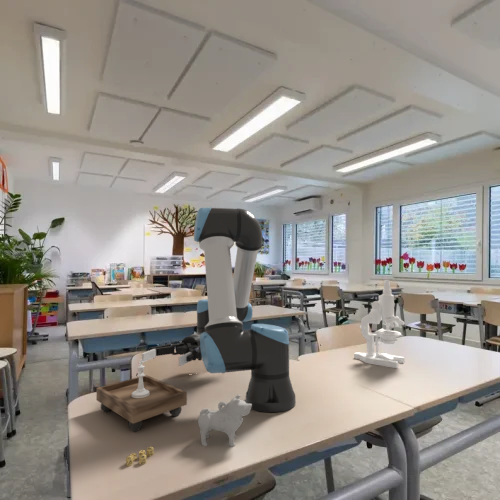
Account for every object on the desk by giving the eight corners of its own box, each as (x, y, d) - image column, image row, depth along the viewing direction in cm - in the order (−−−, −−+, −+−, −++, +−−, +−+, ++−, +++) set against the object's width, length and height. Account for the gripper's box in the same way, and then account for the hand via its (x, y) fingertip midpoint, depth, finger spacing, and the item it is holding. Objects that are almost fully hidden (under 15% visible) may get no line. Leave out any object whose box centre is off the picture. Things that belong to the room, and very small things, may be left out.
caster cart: (186, 415, 97) (186, 391, 97) (132, 436, 86) (132, 409, 86) (146, 395, 112) (146, 375, 113) (96, 410, 101) (96, 387, 101)
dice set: (154, 455, 78) (154, 446, 78) (148, 468, 73) (148, 459, 73) (131, 455, 78) (131, 446, 78) (123, 469, 73) (123, 459, 73)
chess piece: (153, 392, 101) (153, 358, 101) (143, 399, 96) (143, 362, 97) (138, 391, 102) (138, 356, 103) (127, 397, 98) (128, 361, 98)
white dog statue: (251, 447, 80) (251, 400, 80) (196, 446, 81) (196, 400, 81) (252, 436, 85) (252, 392, 86) (200, 435, 86) (200, 391, 86)
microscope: (376, 369, 138) (374, 281, 139) (351, 357, 157) (350, 279, 158) (415, 366, 142) (413, 280, 143) (386, 354, 161) (384, 278, 162)
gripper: (225, 358, 124) (196, 376, 104) (165, 352, 133) (128, 368, 113) (225, 336, 124) (196, 350, 105) (165, 332, 133) (128, 344, 113)
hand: (160, 359), depth 109 cm, fingers open, 13 cm apart
